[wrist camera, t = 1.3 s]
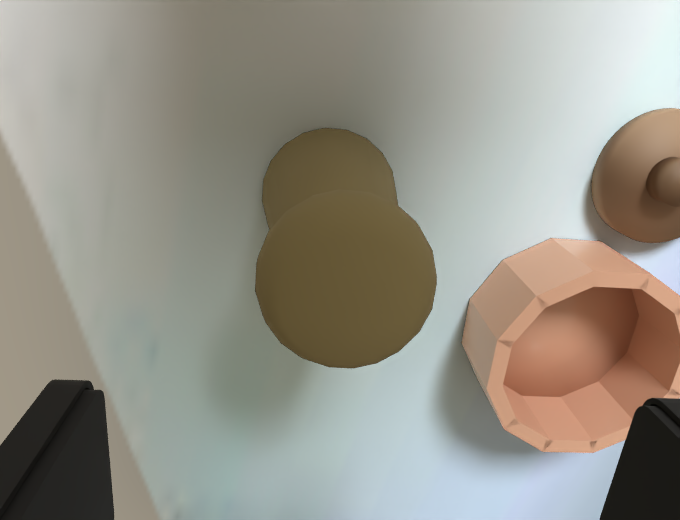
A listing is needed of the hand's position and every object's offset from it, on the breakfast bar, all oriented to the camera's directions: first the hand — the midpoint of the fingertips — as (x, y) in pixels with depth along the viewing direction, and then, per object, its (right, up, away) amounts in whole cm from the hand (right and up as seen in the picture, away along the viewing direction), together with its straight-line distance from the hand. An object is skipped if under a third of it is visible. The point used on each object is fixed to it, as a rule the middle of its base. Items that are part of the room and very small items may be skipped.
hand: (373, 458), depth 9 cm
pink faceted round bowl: (+10, 0, +18) cm, 21 cm away
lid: (+14, +7, +16) cm, 22 cm away
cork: (-1, +6, +15) cm, 16 cm away
